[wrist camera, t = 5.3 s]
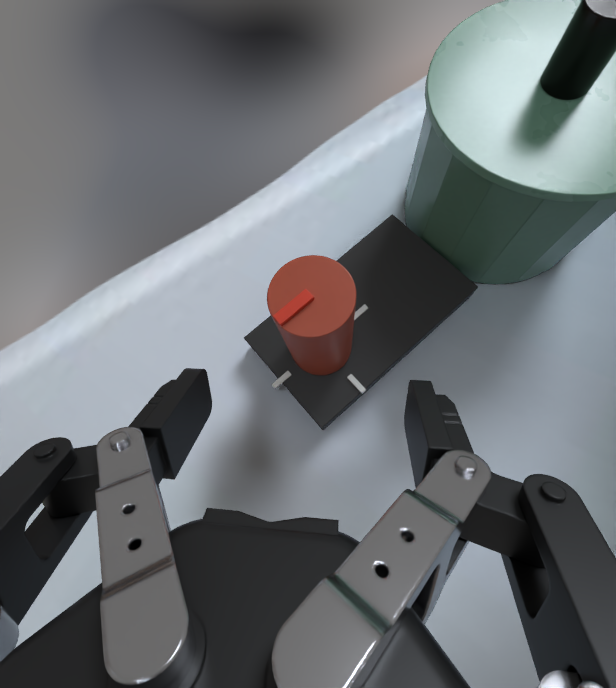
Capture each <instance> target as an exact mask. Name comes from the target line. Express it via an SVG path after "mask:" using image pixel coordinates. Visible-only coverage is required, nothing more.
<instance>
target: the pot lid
mask: <svg viewBox="0 0 616 688" xmlns="http://www.w3.org/2000/svg"><path fill="white" fill-rule="evenodd" d="M425 99H426V108H427V111H428V115H429V118H430V121H431V123H432V125H433V127H434V130H435V132H436V134H437V135H438V137H439V138H440V139H441V141H442V142H443V144H444V145H445V146H446V148H447V149H448V150H449V151H450V152H451V153H452V154H453V155H454V156H455V157H456V158H457V159H458V160H459V161H461V162H462V163H463V164H464V165H465V166H467V167H468V168H469V169H471V170H472V171H474V172H475V173H477V174H478V175H480V176H481V177H483V178H485V179H487V180H489V181H491V182H493V183H495V184H497V185H499V186H501V187H504V188H507V189H509V190H512V191H515V192H517V193H521V194H525V195H529V196H533V197H536V198H542V199H549V200H555V201H569V202H587V201H601V200H607V199H614V198H616V0H505V1H502V2H499V3H496V4H494V5H491V6H489V7H486V8H484V9H482V10H480V11H479V12H477V13H475V14H473V15H471V16H470V17H468V18H467V19H465V20H464V21H462V22H461V23H460V24H459V25H458V26H457V27H455V28H454V29H453V30H452V31H451V32H450V33H449V34H448V35H447V37H446V38H445V39H444V40H443V41H442V43H441V44H440V46H439V47H438V49H437V51H436V52H435V54H434V56H433V59H432V61H431V63H430V67H429V71H428V75H427V80H426V87H425Z"/></svg>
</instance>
